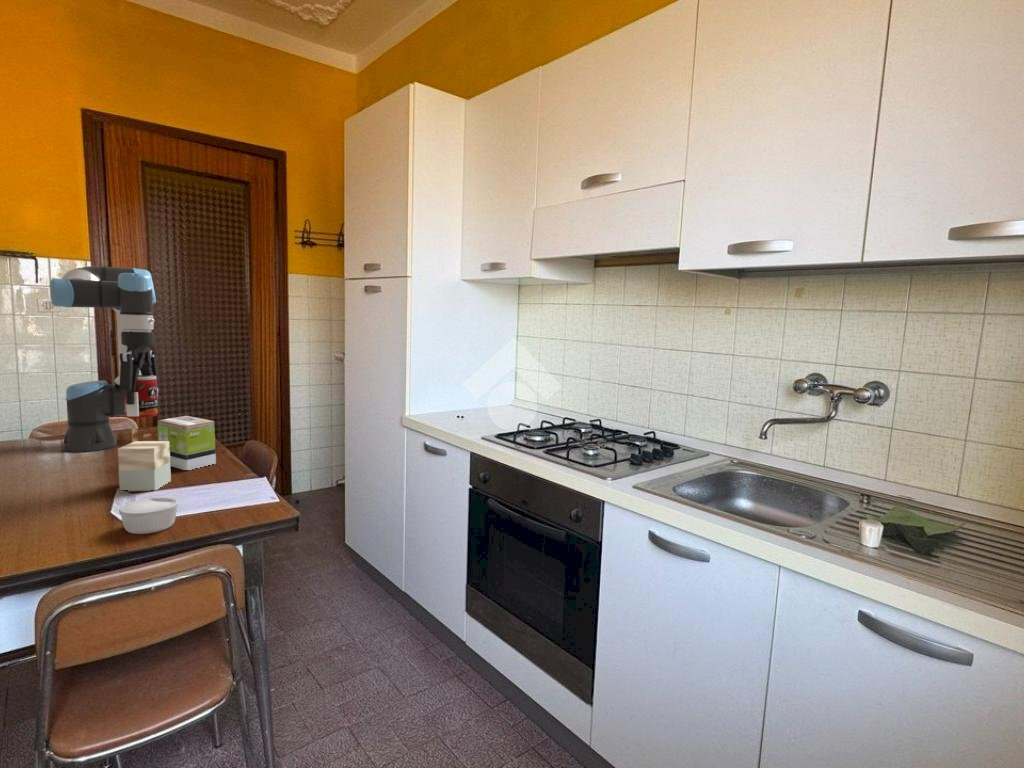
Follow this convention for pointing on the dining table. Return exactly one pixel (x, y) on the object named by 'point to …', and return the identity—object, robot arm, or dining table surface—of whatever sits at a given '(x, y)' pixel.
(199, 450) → the tea box
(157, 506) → the ramekin
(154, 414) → the canned food
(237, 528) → the dining table surface
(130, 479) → the lower block
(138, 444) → the top block
